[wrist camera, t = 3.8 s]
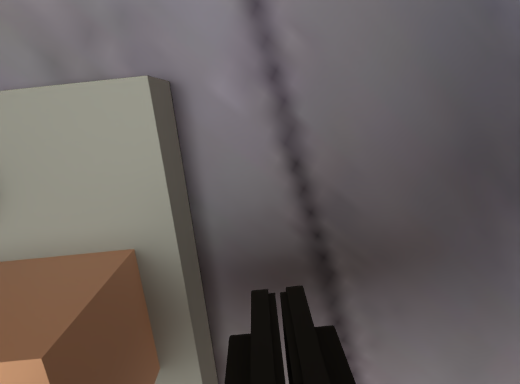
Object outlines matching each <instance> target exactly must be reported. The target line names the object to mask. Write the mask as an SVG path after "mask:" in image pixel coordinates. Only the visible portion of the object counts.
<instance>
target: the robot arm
mask: <svg viewBox="0 0 520 384" xmlns="http://www.w3.org/2000/svg"><path fill="white" fill-rule="evenodd" d="M280 298H281V308H282V319H283V330H284V340H285V351H286V361H287V370H288V378H289V384H356V383H355V381H354V378H353V375H352V372H351V370H350V367H349V364H348V362H347V359H346V356H345V354H344V351H343V348H342V346H341V343H340V340H339V337H338V335H337V332H336V329H335V327H334V326H333V325H332V326H322V327H314V324H313V321H312V317H311V314H310V310H309V306H308V303H307V299H306V296H305V292H304V288H303V286H293V287H286V292H280ZM225 384H285V376H284V367H283V359H282V350H281V342H280V333H279V324H278V316H277V307H276V299H275V293H269V294H268V289H263V290H253V291H251V334H241V335H231V336H230V338H229V346H228V356H227V365H226V375H225Z"/></svg>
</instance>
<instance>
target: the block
mask: <svg viewBox="0 0 520 384" xmlns="http://www.w3.org/2000/svg"><path fill="white" fill-rule="evenodd" d="M159 370H160V365H159V361H158V356H157V351H156V347H155V342H154V338H153V333H152V328H151V324H150V319H149V315H148V310H147V305H146V301H145V296H144V292H143V287H142V282H141V278H140V273H139V269H138V264H137V259H136V255H135V250H134V249H128V250H117V251H107V252H97V253H86V254H76V255H66V256H55V257H45V258H34V259H24V260H14V261H3V262H0V384H155V381H156V378H157V376H158V373H159Z"/></svg>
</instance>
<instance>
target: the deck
mask: <svg viewBox="0 0 520 384" xmlns="http://www.w3.org/2000/svg"><path fill="white" fill-rule="evenodd" d="M128 249H134V250H135V255H136V259H137V264H138V269H139V273H140V278H141V282H142V287H143V292H144V296H145V301H146V305H147V310H148V315H149V319H150V324H151V328H152V333H153V338H154V342H155V347H156V351H157V356H158V361H159V365H160V370H159V373H158V376H157V378H156V381H155V384H218V379H217V373H216V366H215V360H214V354H213V348H212V342H211V336H210V330H209V324H208V317H207V311H206V305H205V299H204V293H203V287H202V281H201V274H200V268H199V262H198V256H197V250H196V244H195V238H194V232H193V225H192V219H191V213H190V207H189V201H188V195H187V189H186V183H185V176H184V170H183V164H182V158H181V152H180V146H179V140H178V133H177V127H176V121H175V115H174V109H173V103H172V97H171V91H170V84H169V81H166V80H162V79H158V78H154V77H151V76H139V77H130V78H120V79H110V80H101V81H91V82H82V83H72V84H63V85H53V86H44V87H34V88H24V89H15V90H5V91H0V262H3V261H14V260H24V259H34V258H45V257H55V256H66V255H76V254H86V253H97V252H107V251H117V250H128Z"/></svg>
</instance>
